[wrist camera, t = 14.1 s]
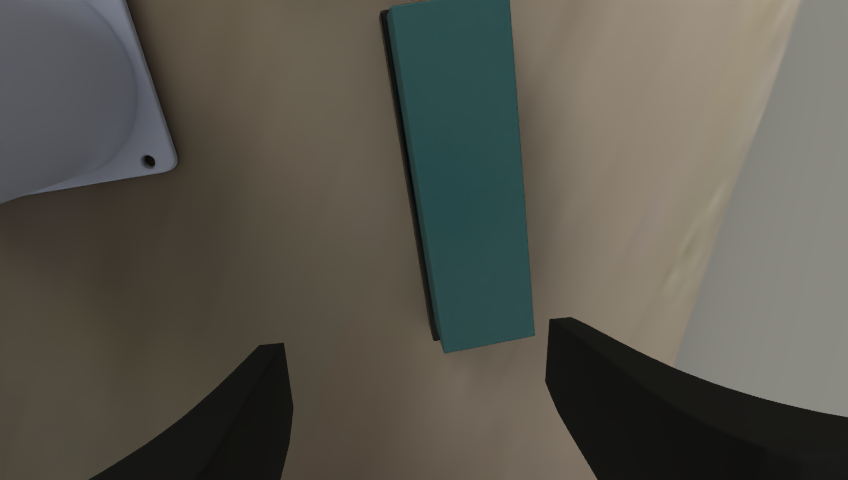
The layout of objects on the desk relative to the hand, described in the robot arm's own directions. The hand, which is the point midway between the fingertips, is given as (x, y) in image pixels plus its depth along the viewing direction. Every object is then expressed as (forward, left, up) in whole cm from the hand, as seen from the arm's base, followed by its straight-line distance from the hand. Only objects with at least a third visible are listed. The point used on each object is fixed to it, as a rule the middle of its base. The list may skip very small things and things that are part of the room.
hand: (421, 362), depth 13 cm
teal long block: (+3, +2, -9) cm, 10 cm away
